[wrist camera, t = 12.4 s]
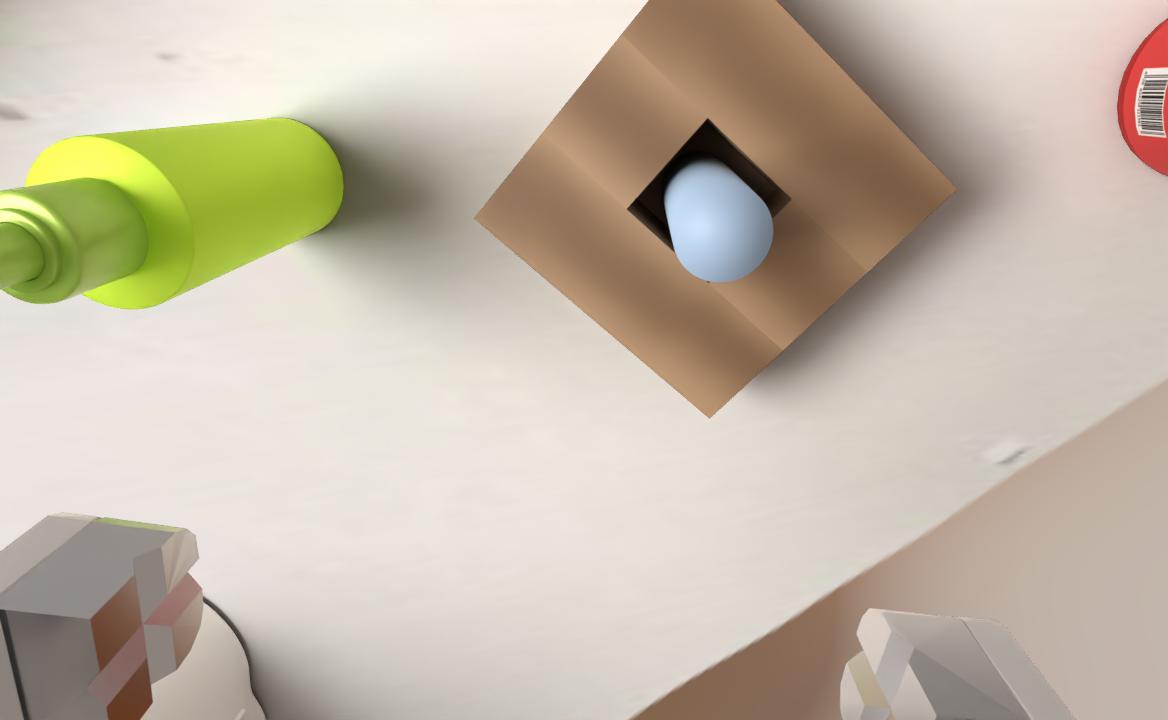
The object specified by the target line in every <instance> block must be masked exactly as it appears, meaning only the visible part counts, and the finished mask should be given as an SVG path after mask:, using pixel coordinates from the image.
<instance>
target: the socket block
mask: <svg viewBox="0 0 1168 720" xmlns="http://www.w3.org/2000/svg"><path fill="white" fill-rule="evenodd" d="M694 151H702V152H708V153H710V154H713V155H715V156H717V157H718V158H719V159H721V160H722V161H723V162H724V163H725V164H726V165H727V166H728V167H729V168H730V169H731V170H732V171H733V172H734V173H735V174H736V175H737V176H738V177H739V178H740V179H741V180H742V181H743V182H744V183H745V184H746V185H748V186H749V187H750V188H751V189H752V190H753V191H754V192H755V193H756V194H757V195H758V196H759V197H760V198H761V199H762V200H763V202H764V203H765V204H766V206H767V208H768V210H769V212H770V214H771V217H772V222H773V238H772V243H771V246H770V249H769V251H768V253H767V255H766V257H765V258H764V260H763V261H762V262H761V264H760V265H759V266H758V267H757V268H756V269H755V270H754V271H752V272H751V273H749V274H748V275H746V276H744V277H742V278H740V279H738V280H734V281H731V282H722V283H717V282H710V281H705V280H703V279H700V278H698V277H696V276H694V275H693V274H691V273H690V272H689V271H688V270H687V269H686V268H685V267H684V266H683V265H682V264H681V262H680V261H679V259H678V257H677V255H676V253H675V250H674V246H673V242H672V237H671V233H670V228H669V224H668V219H667V215H666V210H665V206H664V202H663V197H662V180H663V177H664V174H665V172H666V170H667V168H668V167H669V166H670V164H671V163H672V162H673V161H674V160H676V159H677V158H678V157H680V156H682V155H684V154H686V153H689V152H694ZM956 190H957V188H956V187H955V186H954V185H953V184H952V183H951V182H950V181H949V180H948V179H947V178H946V177H945V176H944V175H943V173H942V172H941V171H940V170H939V169H938V168H937V167H936V166H935V165H934V164H933V163H932V162H931V161H930V160H929V159H928V158H927V157H926V156H925V155H924V154H923V153H922V152H921V151H920V150H919V148H918V147H917V146H916V145H915V144H914V143H913V142H912V141H911V140H910V139H909V138H908V137H907V136H906V135H905V134H904V133H903V132H902V131H901V130H900V129H899V128H898V127H897V126H896V125H895V124H894V122H893V121H892V120H891V119H890V118H889V117H888V116H887V115H886V114H885V113H884V112H883V111H882V110H881V109H880V108H879V107H878V106H877V105H876V104H875V103H874V102H873V101H872V100H871V99H870V98H869V96H868V95H867V94H866V93H865V92H864V91H863V90H862V89H861V88H860V87H859V86H858V85H857V84H856V83H855V82H854V81H853V80H852V79H851V78H850V77H849V76H848V75H847V74H846V73H845V72H844V70H843V69H842V68H841V67H840V66H839V65H838V64H837V63H836V62H835V61H834V60H833V59H832V58H831V57H830V56H829V55H828V54H827V53H826V52H825V51H824V50H823V49H822V48H821V47H820V46H819V44H818V43H817V42H816V41H815V40H814V39H813V38H812V37H811V36H810V35H809V34H808V33H807V32H806V31H805V30H804V29H803V28H802V27H801V26H800V25H799V24H798V23H797V22H796V21H795V19H794V18H793V17H792V16H791V15H790V14H789V13H788V12H787V11H786V10H785V9H784V8H783V7H782V6H781V5H780V4H779V3H778V2H777V1H776V0H649V1H648V2H647V3H646V5H645V6H644V7H643V8H642V10H641V11H640V12H639V13H638V15H637V16H636V17H635V18H634V20H633V21H632V22H631V23H630V25H629V26H628V27H627V28H626V30H625V31H624V32H623V33H622V35H621V36H620V37H619V38H618V40H617V41H616V42H615V43H614V45H613V46H612V47H611V48H610V50H609V51H608V52H607V53H606V55H605V56H604V57H603V58H602V60H601V61H600V62H599V63H598V64H597V66H596V67H595V68H594V69H593V71H592V72H591V73H590V74H589V76H588V77H587V78H586V79H585V81H584V82H583V83H582V84H581V86H580V87H579V88H578V89H577V91H576V92H575V93H574V94H573V96H572V97H571V98H570V99H569V101H568V102H567V103H566V104H565V106H564V107H563V108H562V109H561V111H560V112H559V113H558V114H557V116H556V117H555V118H554V119H553V121H552V122H551V123H550V124H549V126H548V127H547V128H546V129H545V131H544V132H543V133H542V134H541V136H540V137H539V138H538V139H537V141H536V142H535V143H534V144H533V146H532V147H531V148H530V149H529V151H528V152H527V153H526V154H525V155H524V157H523V158H522V159H521V160H520V162H519V163H518V164H517V165H516V167H515V168H514V169H513V170H512V172H511V173H510V174H509V175H508V177H507V178H506V179H505V180H504V182H503V183H502V184H501V185H500V187H499V188H498V189H497V190H496V192H495V193H494V194H493V195H492V197H491V198H490V199H489V200H488V202H487V203H486V204H485V205H484V207H483V208H482V209H481V210H480V212H479V213H478V214H477V215H476V217H475V218H474V219H475V220H477V221H478V222H479V223H480V224H481V225H482V226H484V227H485V228H486V229H487V230H488V231H489V232H491V233H492V234H493V235H494V236H495V237H497V238H498V239H499V240H500V241H501V242H502V243H504V244H505V245H506V246H507V247H508V248H509V249H511V250H512V251H513V252H514V253H515V254H517V255H518V256H519V257H520V258H521V259H522V260H524V261H525V262H526V263H527V264H528V265H529V266H531V267H532V268H533V269H534V270H535V271H537V272H538V273H539V274H540V275H541V276H542V277H544V278H545V279H546V280H547V281H548V282H549V283H551V284H552V285H553V286H554V287H555V288H557V289H558V290H559V291H560V292H561V293H562V294H564V295H565V296H566V297H567V298H568V299H569V300H571V301H572V302H573V303H574V304H575V305H577V306H578V307H579V308H580V309H581V310H582V311H584V312H585V313H586V314H587V315H588V316H589V317H591V318H592V319H593V320H594V321H595V322H597V323H598V324H599V325H600V326H601V327H602V328H604V329H605V330H606V331H607V332H608V333H609V334H611V335H612V336H613V337H614V338H615V339H617V340H618V341H619V342H620V343H621V344H622V345H624V346H625V347H626V348H627V349H628V350H629V351H631V352H632V353H633V354H634V355H635V356H637V357H638V358H639V359H640V360H641V361H642V362H644V363H645V364H646V365H647V366H648V367H649V368H651V369H652V370H653V371H654V372H655V373H657V374H658V375H659V376H660V377H661V378H662V379H664V380H665V381H666V382H667V383H668V384H669V385H671V386H672V387H673V388H674V389H675V390H676V391H678V392H679V393H680V394H681V395H682V396H684V397H685V398H686V399H687V400H688V401H689V402H691V403H692V404H693V405H694V406H695V407H696V408H698V409H699V410H700V411H701V412H702V413H704V414H705V415H706V416H707V417H708V418H709V419H710V418H711V417H712V416H713V415H714V414H715V413H716V412H717V411H718V410H719V409H721V408H722V407H723V406H724V405H725V404H726V403H727V402H728V401H729V400H730V399H731V398H732V397H734V396H735V395H736V394H737V393H738V392H739V391H740V390H741V389H742V388H743V387H744V386H745V385H746V384H748V383H749V382H750V381H751V380H752V379H753V378H754V377H755V376H756V375H757V374H758V373H759V372H761V371H762V370H763V369H764V368H765V367H766V366H767V365H768V364H769V363H770V362H771V361H772V360H773V359H775V358H776V357H777V356H778V355H779V354H780V353H781V352H782V351H783V350H784V349H785V348H786V347H788V346H789V345H790V344H791V343H792V342H793V341H794V340H795V339H796V338H797V337H798V336H799V335H800V334H802V333H803V332H804V331H805V330H806V329H807V328H808V327H809V326H810V325H811V324H812V323H813V322H815V321H816V320H817V319H818V318H819V317H820V316H821V315H822V314H823V313H824V312H825V311H826V310H827V309H829V308H830V307H831V306H832V305H833V304H834V303H835V302H836V301H837V300H838V299H839V298H840V297H842V296H843V295H844V294H845V293H846V292H847V291H848V290H849V289H850V288H851V287H852V286H853V285H854V284H856V283H857V282H858V281H859V280H860V279H861V278H862V277H863V276H864V275H865V274H866V273H867V272H868V271H870V270H871V269H872V268H873V267H874V266H875V265H876V264H877V263H878V262H879V261H880V260H881V259H883V258H884V257H885V256H886V255H887V254H888V253H889V252H890V251H891V250H892V249H893V248H894V247H895V246H897V245H898V244H899V243H900V242H901V241H902V240H903V239H904V238H905V237H906V236H907V235H908V234H910V233H911V232H912V231H913V230H914V229H915V228H916V227H917V226H918V225H919V224H920V223H921V222H922V221H924V220H925V219H926V218H927V217H928V216H929V215H930V214H931V213H932V212H933V211H934V210H935V209H937V208H938V207H939V206H940V205H941V204H942V203H943V202H944V201H945V200H946V199H947V198H948V197H949V196H951V195H952V194H953V193H954V192H955V191H956Z"/></svg>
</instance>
